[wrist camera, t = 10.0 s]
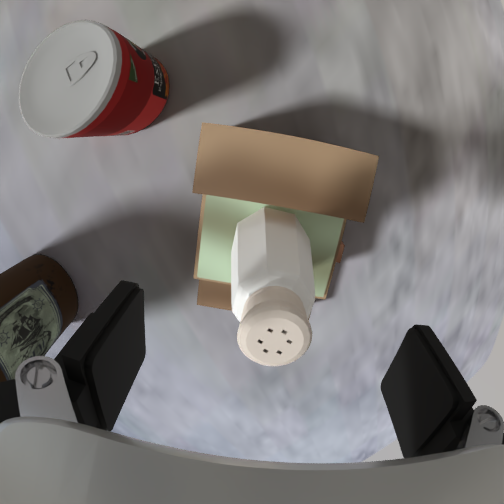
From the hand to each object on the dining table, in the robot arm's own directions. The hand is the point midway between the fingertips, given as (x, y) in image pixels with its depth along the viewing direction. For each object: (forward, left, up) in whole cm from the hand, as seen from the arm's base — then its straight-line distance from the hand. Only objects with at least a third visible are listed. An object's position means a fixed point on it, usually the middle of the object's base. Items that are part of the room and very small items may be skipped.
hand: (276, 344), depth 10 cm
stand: (+1, 0, -18) cm, 18 cm away
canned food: (-9, -14, -19) cm, 25 cm away
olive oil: (+13, -24, -19) cm, 33 cm away
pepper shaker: (+1, 0, -12) cm, 12 cm away
